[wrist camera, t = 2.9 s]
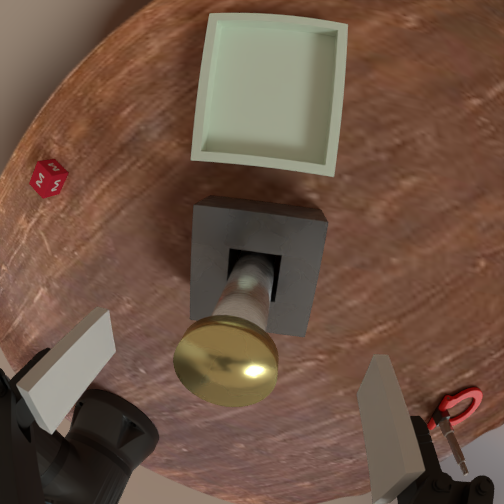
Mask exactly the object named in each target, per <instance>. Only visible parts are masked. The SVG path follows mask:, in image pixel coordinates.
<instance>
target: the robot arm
mask: <svg viewBox="0 0 504 504" xmlns="http://www.w3.org/2000/svg"><path fill="white" fill-rule="evenodd" d="M115 352H116V349H115V344H114V339H113V333H112V327H111V321H110V314H109V310H108V309H104V308H101V307H96V308H95V309H94V310H93V311H92V312H90V313H89V314H88V315H87V316H86V317H85V318H84V319H83V320H82V321H81V322H79V323H78V324H77V325H76V326H75V327H74V328H73V329H72V330H71V331H70V332H69V333H68V334H67V335H66V336H64V337H63V338H62V339H61V340H60V341H59V342H58V343H57V344H56V345H55V346H54V347H53V348H52V349H50V348H46V349H44V350H42V351H40V352H38V353H37V354H36V355H35V356H34V357H33V358H32V360H30V361H29V362H28V363H27V365H25V366H24V367H23V368H22V369H21V370H20V371H19V372H18V373H17V374H16V375H15V376H14V377H13V378H12V379H11V380H10V379H9V378H8V377H7V376H6V375H5V373H4V371H3V370H2V369H1V368H0V504H118V502H119V500H120V498H121V496H122V493H123V491H124V489H125V487H126V484H127V482H128V480H129V478H130V476H131V474H132V471H133V470H134V469H135V468H136V467H137V466H138V465H140V464H141V463H142V462H143V461H144V460H145V459H146V458H147V457H148V456H149V455H150V454H151V453H152V452H153V451H154V450H155V447H156V445H157V443H158V441H159V434H158V431H157V429H156V427H155V426H154V424H153V423H152V422H151V421H150V419H149V418H148V417H147V416H146V415H145V414H143V413H142V412H141V411H140V410H139V409H137V408H136V407H135V406H133V405H132V404H130V403H129V402H127V401H125V400H124V399H122V398H120V397H118V396H116V395H114V394H111V393H108V392H105V391H102V390H95V389H92V390H87V391H85V390H86V389H87V387H88V386H89V385H90V383H91V382H92V381H93V380H94V378H95V377H96V376H97V374H98V373H99V372H100V371H101V369H102V368H103V367H104V366H105V364H106V363H107V362H108V361H109V359H110V358H111V357H112V356H113V354H114V353H115ZM84 391H85V392H84ZM83 392H84V393H83ZM80 396H81V397H80ZM357 399H358V404H359V410H360V415H361V421H362V427H363V433H364V440H365V446H366V453H367V460H368V468H369V475H370V484H371V493H372V502H373V504H383V503H390V502H391V501H393V500H394V499H395V498H396V497H397V500H398V504H493V497H494V484H493V482H492V480H491V479H490V478H489V477H487V476H478V477H476V478H474V479H473V480H472V481H471V482H461V481H454V480H452V478H451V476H449V475H448V474H447V473H444V472H442V470H441V468H440V464H439V461H438V458H437V454H436V451H435V448H434V445H433V443H432V439H431V436H430V435H429V434H430V433H429V430H428V427H427V424H426V423H425V422H424V420H423V419H422V418H421V417H420V416H409V413H408V409H407V406H406V403H405V400H404V397H403V395H402V392H401V389H400V386H399V383H398V380H397V377H396V375H395V372H394V369H393V366H392V364H391V361H390V358H389V356H388V355H380V354H374V355H373V358H372V360H371V363H370V365H369V367H368V370H367V372H366V374H365V377H364V379H363V381H362V383H361V386H360V388H359V390H358V392H357ZM77 400H78V401H77ZM76 402H77V403H76ZM75 403H76V406H75V410H74V414H73V418H72V422H71V427H70V430H69V432H68V434H67V435H66V437H65V438H64V437H63V436H62V435H61V434H60V433H59V432H58V431H57V430H56V428H57V427H58V426H59V424H60V423H61V422H62V420H63V419H64V418H65V416H66V415H67V414H68V412H69V411H70V410H71V408H72V407H73V406H74V404H75Z"/></svg>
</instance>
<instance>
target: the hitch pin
mask: <svg viewBox="0 0 504 504" xmlns="http://www.w3.org/2000/svg"><path fill="white" fill-rule="evenodd" d="M275 262H276V255H275V254H268V253H261V252H254V251H246V250H242V252H241V254H240V256H239V258H238V260H237V262H236V264H235V266H234V268H233V271H232V273H231V275H230V277H229V279H228V281H227V283H226V285H225V287H224V290H223V292H222V294H221V296H220V298H219V300H218V302H217V304H216V307H215V309H214V311H213V313H212V315H211V316H209V317H205V318H202V319H200V320H198V321H196V322H195V323H193V324H192V325H191V326H190V327H189V328H188V329H187V330H186V332H185V333H184V335H183V337H182V339H181V341H180V342H179V344H178V346H177V348H176V350H175V353H174V357H173V363H174V369H175V372H176V374H177V376H178V378H179V379H180V381H181V382H182V384H183V385H184V386H185V387H186V388H187V389H188V390H189V391H190V392H192V393H193V394H194V395H196V396H197V397H199V398H201V399H203V400H205V401H207V402H210V403H213V404H216V405H220V406H226V407H242V406H248V405H252V404H255V403H257V402H259V401H261V400H263V399H264V398H266V397H267V396H268V395H269V394H270V393H271V392H272V390H273V389H274V387H275V385H276V382H277V374H278V361H279V358H278V351H277V348H276V345H275V343H274V342H273V340H272V339H271V337H270V336H269V335H268V334H267V333H266V328H267V321H268V314H269V307H270V299H271V292H272V285H273V277H274V269H275Z"/></svg>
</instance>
